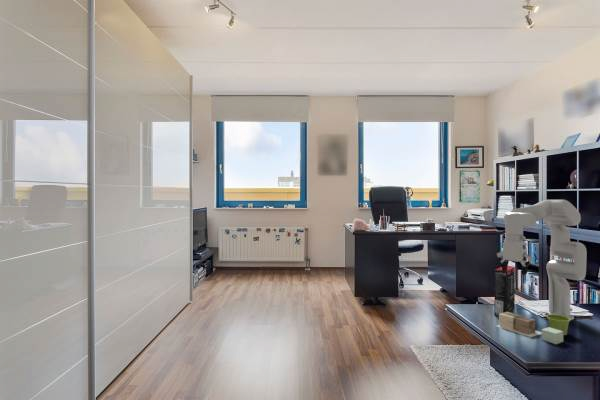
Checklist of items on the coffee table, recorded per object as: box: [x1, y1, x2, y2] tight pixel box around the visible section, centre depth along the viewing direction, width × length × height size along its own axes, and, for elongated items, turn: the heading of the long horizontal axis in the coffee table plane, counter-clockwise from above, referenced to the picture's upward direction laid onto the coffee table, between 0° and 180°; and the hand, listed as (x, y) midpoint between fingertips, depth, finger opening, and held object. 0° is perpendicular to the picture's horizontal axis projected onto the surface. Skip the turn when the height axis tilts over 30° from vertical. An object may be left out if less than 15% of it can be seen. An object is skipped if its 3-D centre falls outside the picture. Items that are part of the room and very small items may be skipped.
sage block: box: [541, 326, 564, 345], centre depth 159 cm, size 6×6×6 cm
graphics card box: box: [493, 265, 516, 318], centre depth 198 cm, size 17×7×27 cm, turn 136°
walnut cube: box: [515, 315, 536, 334], centre depth 170 cm, size 6×6×6 cm
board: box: [496, 324, 542, 338], centre depth 173 cm, size 11×17×1 cm, turn 28°
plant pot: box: [545, 314, 572, 336], centre depth 168 cm, size 9×9×9 cm
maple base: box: [498, 312, 522, 330], centre depth 177 cm, size 7×7×6 cm
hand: (514, 272), depth 172 cm, fingers open, 9 cm apart
